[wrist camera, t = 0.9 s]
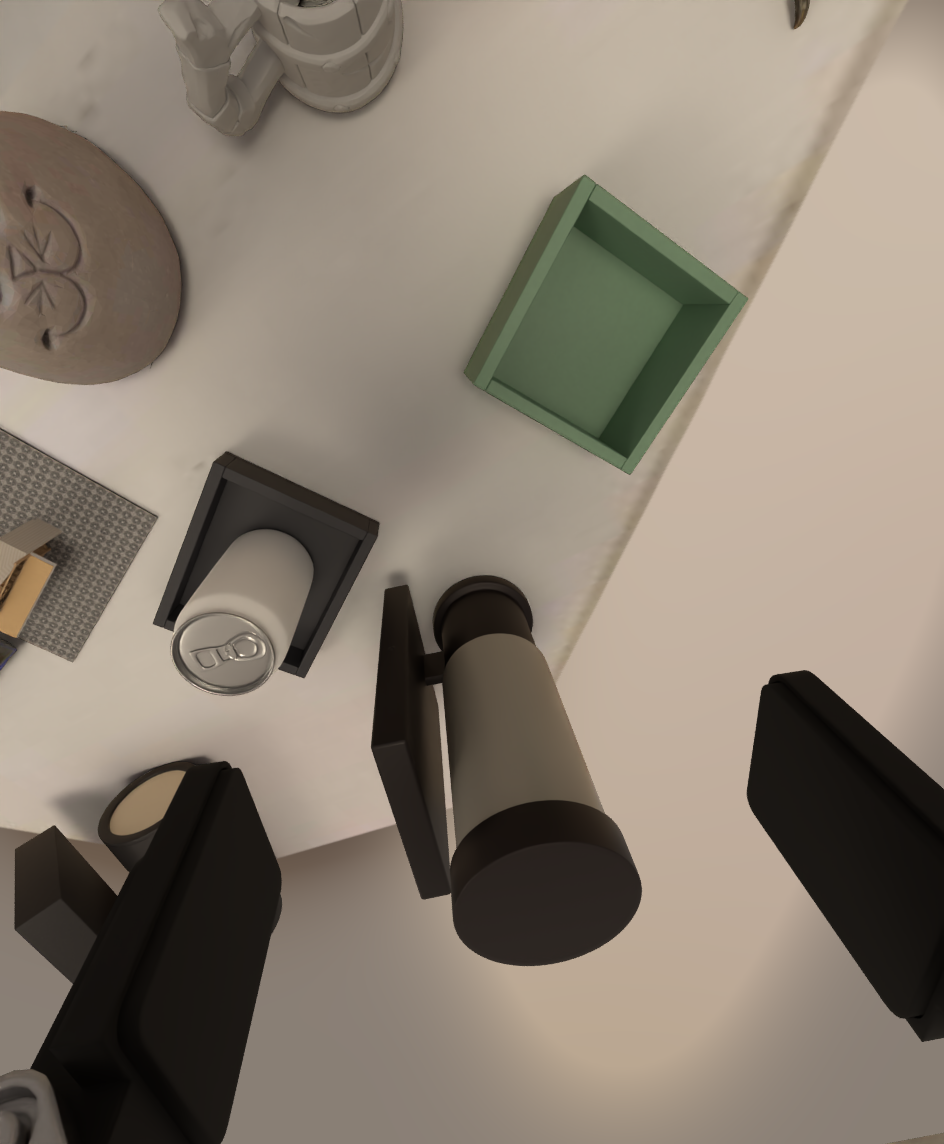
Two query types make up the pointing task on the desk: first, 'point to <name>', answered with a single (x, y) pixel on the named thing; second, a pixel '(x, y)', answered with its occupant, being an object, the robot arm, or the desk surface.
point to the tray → (269, 501)
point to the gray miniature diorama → (59, 548)
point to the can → (243, 614)
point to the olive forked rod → (800, 11)
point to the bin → (602, 326)
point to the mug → (283, 54)
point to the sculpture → (78, 260)
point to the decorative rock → (5, 652)
